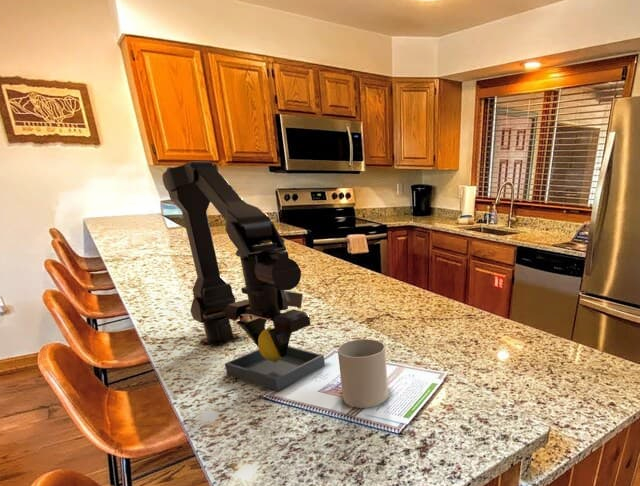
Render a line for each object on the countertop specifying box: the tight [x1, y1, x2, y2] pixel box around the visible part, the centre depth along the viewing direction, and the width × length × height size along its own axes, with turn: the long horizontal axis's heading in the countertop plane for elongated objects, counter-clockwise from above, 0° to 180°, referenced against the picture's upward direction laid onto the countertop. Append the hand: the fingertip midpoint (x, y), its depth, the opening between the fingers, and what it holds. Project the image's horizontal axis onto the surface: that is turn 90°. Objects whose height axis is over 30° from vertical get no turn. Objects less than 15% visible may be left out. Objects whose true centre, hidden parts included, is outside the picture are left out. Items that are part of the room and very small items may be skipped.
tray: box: [224, 345, 326, 392], centre depth 91 cm, size 15×13×2 cm
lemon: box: [257, 326, 282, 363], centre depth 89 cm, size 6×6×8 cm
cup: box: [337, 338, 389, 409], centre depth 78 cm, size 8×8×10 cm
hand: (273, 353), depth 90 cm, fingers closed on lemon, 5 cm apart
